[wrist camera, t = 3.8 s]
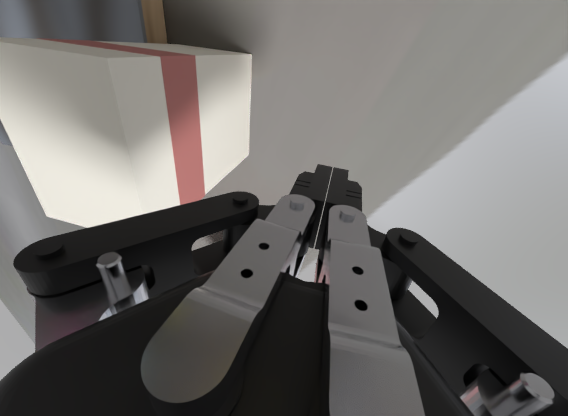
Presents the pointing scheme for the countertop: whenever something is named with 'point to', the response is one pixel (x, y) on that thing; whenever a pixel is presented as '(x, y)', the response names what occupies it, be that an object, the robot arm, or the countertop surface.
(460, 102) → the countertop surface
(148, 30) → the podium
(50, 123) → the carton
